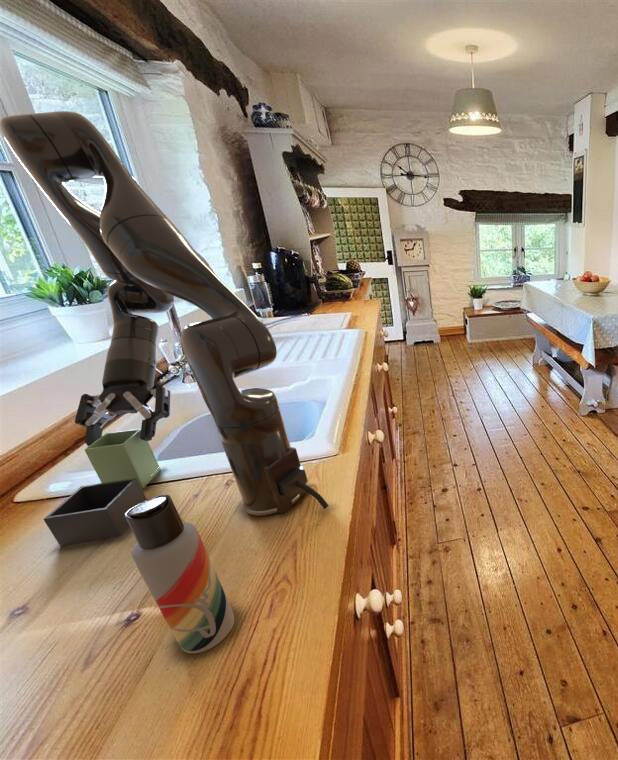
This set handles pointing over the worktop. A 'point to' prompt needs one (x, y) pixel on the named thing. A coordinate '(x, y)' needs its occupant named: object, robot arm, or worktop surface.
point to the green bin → (123, 457)
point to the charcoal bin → (95, 512)
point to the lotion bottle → (179, 575)
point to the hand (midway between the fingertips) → (119, 443)
